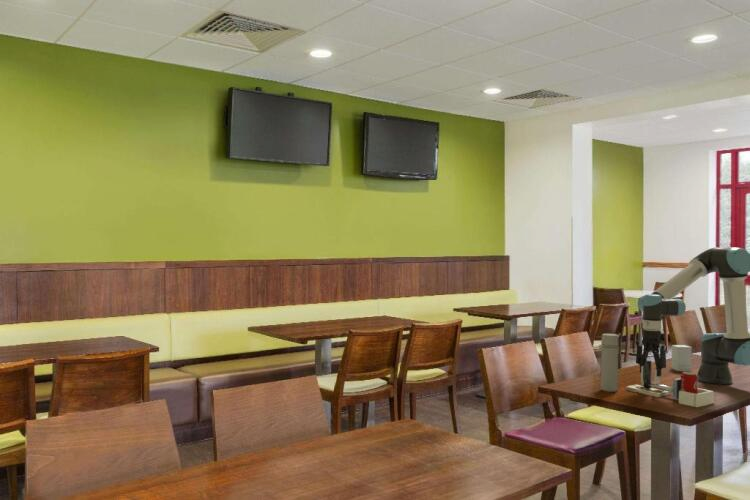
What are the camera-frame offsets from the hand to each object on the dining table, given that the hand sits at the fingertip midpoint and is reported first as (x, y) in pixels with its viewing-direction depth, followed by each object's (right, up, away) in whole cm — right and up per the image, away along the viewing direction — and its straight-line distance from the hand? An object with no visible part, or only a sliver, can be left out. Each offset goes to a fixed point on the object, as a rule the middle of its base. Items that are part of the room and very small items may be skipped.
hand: (650, 381), depth 286 cm
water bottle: (-17, -5, +4) cm, 19 cm away
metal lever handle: (+3, -4, -4) cm, 7 cm away
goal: (+12, -5, -17) cm, 21 cm away
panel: (-1, -5, +1) cm, 5 cm away
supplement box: (+39, -5, +53) cm, 66 cm away
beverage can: (+10, -5, -14) cm, 18 cm away
